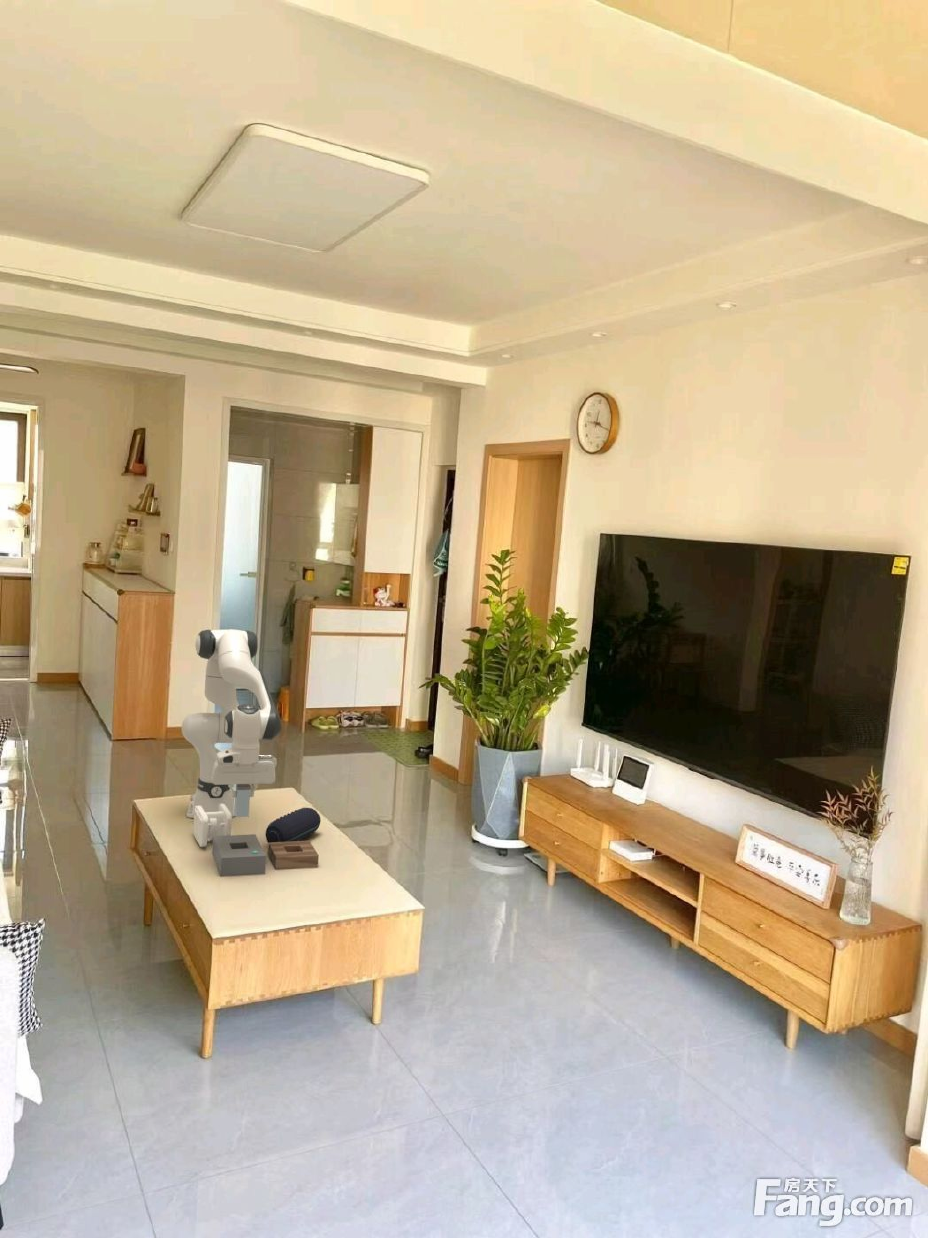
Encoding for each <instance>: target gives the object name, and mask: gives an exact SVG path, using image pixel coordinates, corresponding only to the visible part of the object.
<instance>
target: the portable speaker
mask: <svg viewBox="0 0 928 1238" xmlns="http://www.w3.org/2000/svg"><path fill="white" fill-rule="evenodd" d="M321 822H322V821H321V816H320V814H319V813H318V811H317V810H315V809H314V808H312V807H301V808H299V809H295V810H294V811H291V812H290V813H289V812H288V813H286V814H284V815H283V816H280V817H278V818H276V819H275V820H273V821H271V822H270V823H269V824H268V826H267V828H266V830H265V838H266V839H265V840H266V841H267V844H268V843H269V842H290V841H302V839H304V838H307V837H309V836H311V835H312V834H314V833H315V832H316V831H318V829H319V827H320V824H321Z"/></svg>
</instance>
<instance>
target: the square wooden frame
mask: <svg viewBox="0 0 928 1238" xmlns="http://www.w3.org/2000/svg"><path fill="white" fill-rule="evenodd" d="M267 855H268V857H269V859H270V861H271V863H272V865H273V867H274V869H275V870H289V869H305V868H306V869H307V868H308V869H309V868H319V854H318V852H317V850H316V848H314V846H313V844H312V843H311V840H299V841H290V842H269V843H268V842H267Z"/></svg>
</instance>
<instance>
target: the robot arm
mask: <svg viewBox="0 0 928 1238" xmlns="http://www.w3.org/2000/svg"><path fill="white" fill-rule="evenodd" d="M194 646H195V650H196V654H197V655H198V656H199V657H200V658H201V659H204V660H207V662H206V667H205V681H204V697H205V698H206V699H207V700H208V701H209V702H211V703H212V704H214V705H216V706H218V707H219V708H220V712H196V713H191V714H188V715H186V716H185V717H184V718H183V720H182V722H181V734H182V736H183V738H184V739H185V740H186V741H187V742H189V743H190V744H191V745H192V746H193V747H194V748H195V750H196V752H197V754H198V759H199V777H198V780H197V788H196V790H195V793H194V794H190V797H189V800H190V802H189V805H188V808H187V812H186V817H187V818H190V819H194V808H195V806H201V807H202V808H203V810H204V811H205V812H218V810H219V804H225V806H226V807H227V809H228V810H229V811H230V813H231V816H232V818H233V817H236V816H235V814H234V809H235V797H237V791H236V790H235V789H234V788H235V785H236V784H249V785H252V788H251V789H250V798H254V797H255V796H254V795H255V792H256V790H257V789H258V787H259V784H261V785H263V784H266V785H267V784H268V785H269V784H274V783H275V781H276V767H277V764H278V760H277V757H276V756H274V755H272V754H268V755H267V754H260V748H261V747H260V745H261V744H260V740H265V741H272V740H274V739H275V738H276V737H277V736H279V734H280V733H281V731H282V720H281V717H280V713H279V712H278V710H277V708H276V705H275V703H274V700H273V697H272V694H271V691H270V688H269V685H268V683H267V680H266V678H265V675H264V673H263V672H262V671H261V670H259V669H258V668H257V667H256V666H255V665H254V663H253V661H252V659H253V658H254V657H256V655H257V654H258V650H259V640H258V636H257V634H256V633H255V632H254V631H250V630H242V629H241V630H240V629H233V628H232V629H230V628H228V629H204V630H201V631H200V632H199V633H198V634H197V637H196V639H195V644H194ZM237 687H239V688H243V689H246V690H248V691H250V692H252V694H254V695H255V696H256V697H255V698H256V699H257V702H258V705H259V706H256V705H254V704H249V703H244V704H239V702H238V698H237ZM216 744H231V748H227V749H225V750H220V749H218V748H217V747H216V746H215V745H216Z"/></svg>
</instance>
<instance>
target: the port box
mask: <svg viewBox="0 0 928 1238" xmlns="http://www.w3.org/2000/svg"><path fill="white" fill-rule="evenodd" d="M211 854H212V857H213V860H214V863H215V865H216V868H217V872H218V874H219V876H220V877H230V876H231V877H232V876H249V875H250V876H251V875H265V874H266V863H267V854H266V852H265V851H264V849H263V847H262V845H261V843H260V841H259V839H258V836H257V835H256V834H255V833H254V834H234V835H233V834H232V835H228V836H213V839H212V850H211Z"/></svg>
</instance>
